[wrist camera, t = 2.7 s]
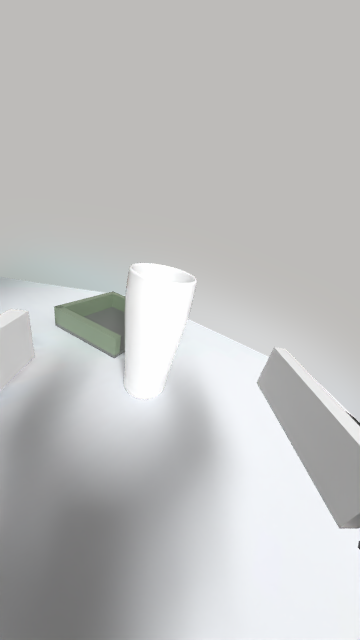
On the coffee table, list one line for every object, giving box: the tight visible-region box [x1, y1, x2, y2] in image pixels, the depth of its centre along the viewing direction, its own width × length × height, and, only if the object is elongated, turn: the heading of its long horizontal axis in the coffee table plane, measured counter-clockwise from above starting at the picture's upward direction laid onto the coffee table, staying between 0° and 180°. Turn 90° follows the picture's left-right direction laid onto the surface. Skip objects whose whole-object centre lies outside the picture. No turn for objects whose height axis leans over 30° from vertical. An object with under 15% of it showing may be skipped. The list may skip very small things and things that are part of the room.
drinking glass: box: [124, 263, 197, 400], centre depth 22 cm, size 7×7×15 cm
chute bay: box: [54, 292, 125, 358], centre depth 35 cm, size 13×13×4 cm
